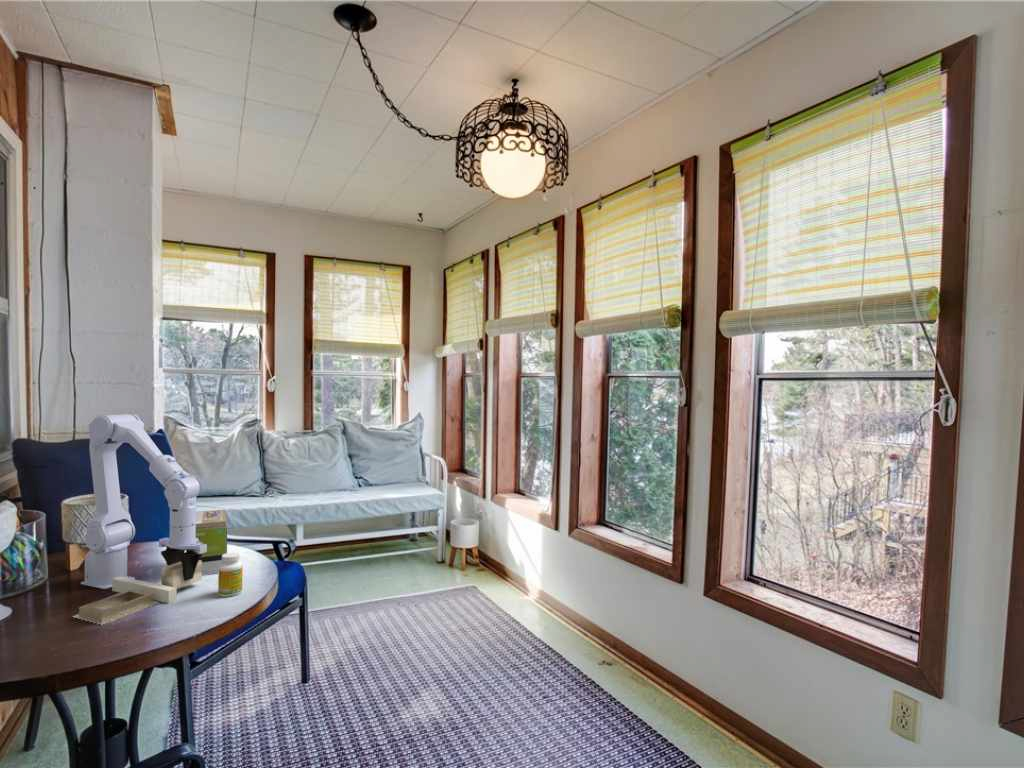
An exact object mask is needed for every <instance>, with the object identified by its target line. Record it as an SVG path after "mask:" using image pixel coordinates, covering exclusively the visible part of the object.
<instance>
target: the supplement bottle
mask: <svg viewBox="0 0 1024 768" xmlns="http://www.w3.org/2000/svg"><path fill="white" fill-rule="evenodd" d="M240 557H241V556H240V553H239V552H227V553H226V554H223V555H222V562H223V563H222V564H220V566H219V573H218V578H217V579H218V581H217V582H218V583H217V585H218V588H217V589H218V590H217V592H218V593H217V594H218V596H219V597H224V598H230V597H235V596H238V595H240V594H241V593H242V592H243V569H244V568H243V567H244V566H243V563H242V562H241V561H240Z"/></svg>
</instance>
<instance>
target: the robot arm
mask: <svg viewBox="0 0 1024 768" xmlns="http://www.w3.org/2000/svg"><path fill="white" fill-rule="evenodd" d="M144 428H145V423H144V422H143V421H142V420H141V419H140V417H139V416H138V415H137V414H134V413H131V412H130V413H124V414H108V415H105V414H100V415H97V416H96V417H94V419H93V420H92V421H91V422H90V423H89V424H88V433H89V448H88V449H89V457H90V458H89V459H90V467H91V476H92V485H93V495H94V505H95V514H94V516H93V517H92V518H91V519H90V520H89V521H88V522H87V523H86V529H87V530H86V533H85V539H84V540H85V541H84V542H85V544H86V547H87V549H89V551H88V552H87V554H86V555H85V557H84V581H81V582H80V585H83V586H87V587H88V586H89V587H92V588H95V589H96V588H97V589H101V590H107V589H110V588H111V589H112V579H114V578H117V577H120V576H121V577H126V578H130V579H135V580H136V577H134V576H130V575H129V576H128V546H130V545H131V544H130V542H131V541H132V540H133V539H134V538H135V535H136V528H135V525H134V523H133V521H132V517H131V514H130V513H129V512H127V511H125V510H124V509H123V508H122V499H121V489H120V481H119V471H118V462H117V460H118V459H117V450H118V449H119V447H121V445H122V444H124V443H126V444H129V445H130V446H131V447H133V448H134V449H135V450H136V452H137V453H139V454H140V455H141V456H142V457H143V458H144V459H145V460H146V461H147V462H148V463H149V467H148V470H149V472H151V474H152V475H153V477H155V479H156V480H157V481H159V483H160V484H161V485H162V487H163V488H164V490H163V493H164V496H165V497H164V498H166V500H167V507H168V508H169V537H164V538H160V539H158V547H159V548H166V549H165V550H161V551H160V555H161V556H162V558H163V559H164V561H165V563H166V566H169V565H172V564H175V563H178V562H181V563H182V567H183V578H184V580H185V581H187V580H190V579H192V578H193V576H194V573H195V569H196V566H197V564H198V561H199V559H200V558H201V556H202V555H203V553H205V552H207V544H203V543H201V542H199V541H198V540H199V539H198V538H196V512H197V497H198V496H199V495H200V494H201V492H202V488H203V487H202V482H201V480H200V479H199V477H198V476H196V475H193V474H189V473H187V471H185V470H184V469H183V467H181V466H180V464H178V462H177V461H176V460H177V459H176V458H175V457H174V456H171V455H169V454H163V453H162V451H161V450H160V449H159V448H158V446H157V445H156V443H155V442H154V441H153V439H152V438H151V437H150V435H148V433H147V432H146V430H145V429H144Z"/></svg>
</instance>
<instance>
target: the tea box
mask: <svg viewBox="0 0 1024 768" xmlns="http://www.w3.org/2000/svg"><path fill="white" fill-rule="evenodd" d="M227 523H228V521H227V510H226V509H225V508H224V509H215V510H205V511H196V538H198V539H199V540H198V541H199V542H201V543H203V544H207V552H205V553H203V555H202V556H201V558H200V559H199V560H202V574H209V575H211V574H210V573H216V574H219V573H218V572H219V566H220V564H222V563H223V562H222V555H223V554H226V553H228V524H227Z"/></svg>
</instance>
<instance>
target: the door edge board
mask: <svg viewBox="0 0 1024 768" xmlns="http://www.w3.org/2000/svg"><path fill="white" fill-rule="evenodd" d="M128 590H135V591H140V592H145V593H149V594H153V601H156V600H157V601H156V602H160V601H162V602H161V603H165V602H167V603H166V604H171V603H173V602H172V601H174V602H176V601H177V588H174V587H169V586H164V585H162V584H158V583H153V582H148V581H144V580H140V579H139V580H138V579H136V578H135V579H130V578H126V577H121V576H120V577H117V578H114V579H112V587H111V592H116V593H122V592H125V591H128ZM175 600H176V601H175ZM170 602H171V603H170Z"/></svg>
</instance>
